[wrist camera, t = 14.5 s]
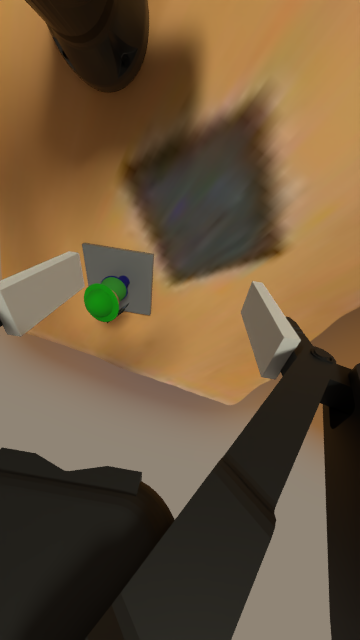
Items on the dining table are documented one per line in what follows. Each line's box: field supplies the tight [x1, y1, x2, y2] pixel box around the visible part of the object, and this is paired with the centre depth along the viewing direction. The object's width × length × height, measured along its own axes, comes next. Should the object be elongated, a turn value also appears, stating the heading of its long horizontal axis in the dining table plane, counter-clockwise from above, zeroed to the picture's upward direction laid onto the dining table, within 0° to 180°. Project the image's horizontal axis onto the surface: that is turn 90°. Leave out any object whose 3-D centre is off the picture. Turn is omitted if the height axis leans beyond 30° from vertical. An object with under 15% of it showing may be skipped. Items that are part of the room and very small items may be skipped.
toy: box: [84, 275, 130, 323], centre depth 46 cm, size 9×9×15 cm
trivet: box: [82, 243, 154, 315], centre depth 53 cm, size 18×18×1 cm
